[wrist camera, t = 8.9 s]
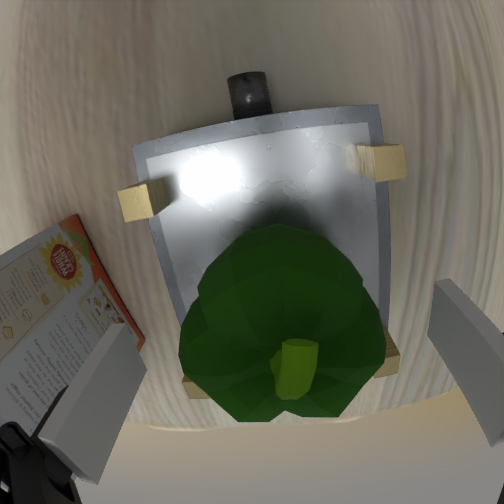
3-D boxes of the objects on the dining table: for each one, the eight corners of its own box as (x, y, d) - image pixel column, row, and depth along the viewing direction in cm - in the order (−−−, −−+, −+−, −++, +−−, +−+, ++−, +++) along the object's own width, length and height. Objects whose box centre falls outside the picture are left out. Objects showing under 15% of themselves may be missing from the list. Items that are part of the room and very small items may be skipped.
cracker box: (40, 234, 25) (-121, 350, 5) (79, 211, 24) (-119, 340, 4) (105, 350, 29) (13, 507, 10) (148, 340, 28) (58, 530, 9)
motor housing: (157, 106, 20) (94, 92, 12) (343, 74, 19) (388, 38, 10) (214, 342, 28) (195, 418, 19) (365, 322, 26) (396, 394, 17)
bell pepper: (307, 352, 19) (324, 485, 10) (190, 305, 19) (136, 436, 9) (377, 244, 17) (469, 354, 7) (246, 178, 16) (214, 241, 6)
